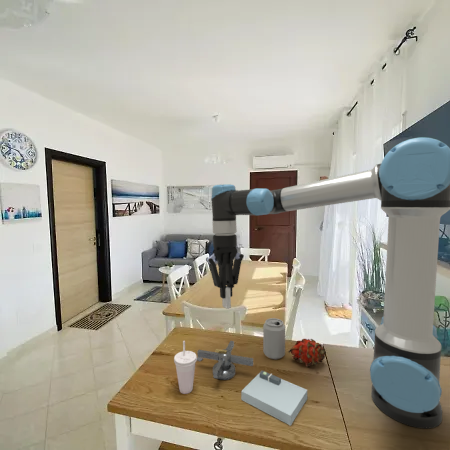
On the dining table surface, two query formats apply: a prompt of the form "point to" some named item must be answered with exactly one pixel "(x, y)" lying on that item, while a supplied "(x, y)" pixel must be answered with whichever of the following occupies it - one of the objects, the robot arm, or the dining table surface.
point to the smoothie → (185, 369)
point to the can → (274, 338)
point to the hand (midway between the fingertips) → (226, 307)
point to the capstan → (225, 361)
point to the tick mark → (199, 359)
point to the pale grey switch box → (275, 396)
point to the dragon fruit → (308, 352)
